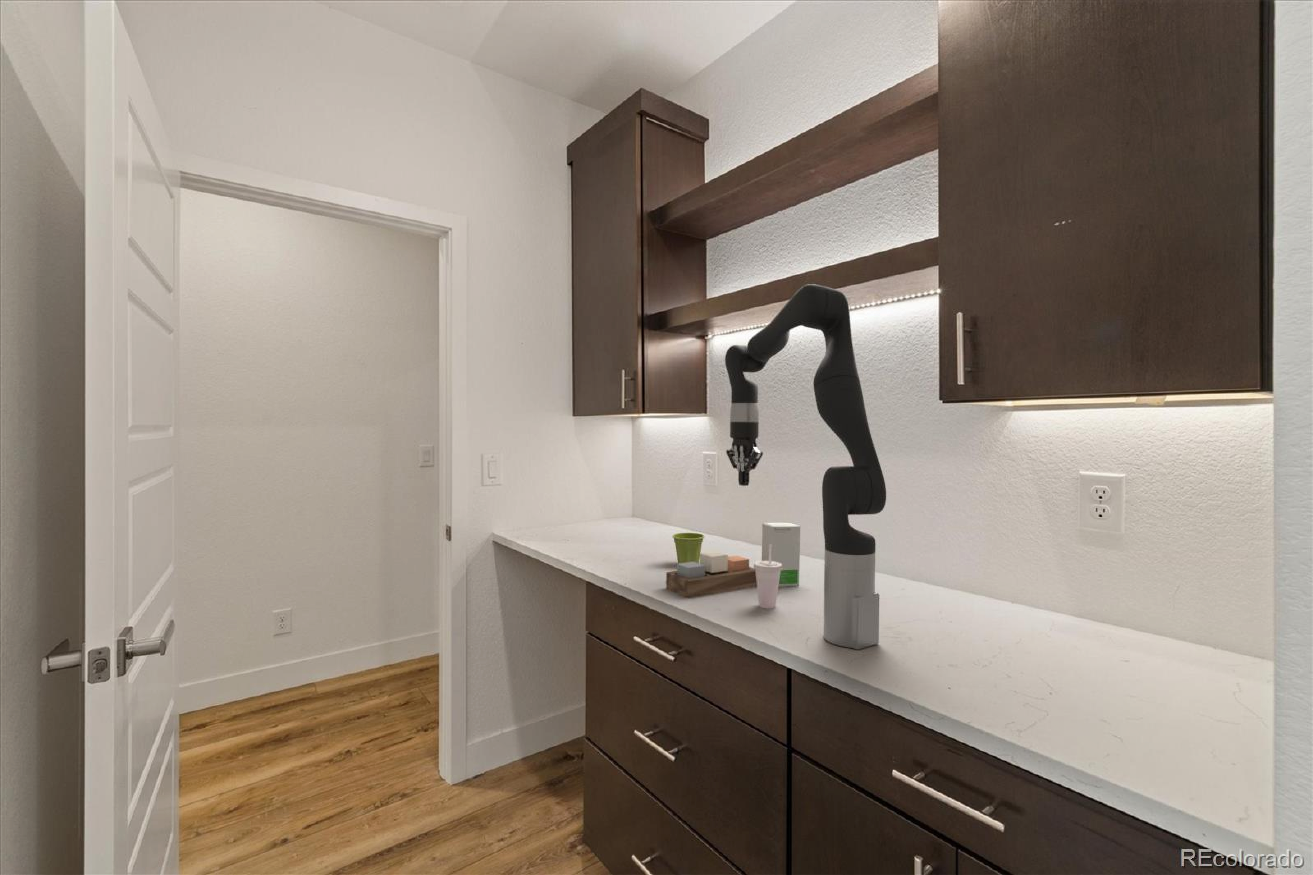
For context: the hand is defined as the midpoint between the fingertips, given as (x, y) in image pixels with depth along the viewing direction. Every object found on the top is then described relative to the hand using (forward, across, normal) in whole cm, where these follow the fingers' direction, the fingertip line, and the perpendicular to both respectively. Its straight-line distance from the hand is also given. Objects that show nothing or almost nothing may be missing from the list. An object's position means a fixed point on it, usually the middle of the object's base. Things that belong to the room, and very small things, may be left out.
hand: (743, 485), depth 158 cm
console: (+25, -3, +12) cm, 28 cm away
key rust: (+23, -3, +5) cm, 24 cm away
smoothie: (+25, -22, +11) cm, 35 cm away
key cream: (+21, -3, +12) cm, 24 cm away
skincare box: (+25, -9, -5) cm, 27 cm away
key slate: (+23, -3, +19) cm, 30 cm away
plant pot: (+25, +20, +4) cm, 32 cm away
